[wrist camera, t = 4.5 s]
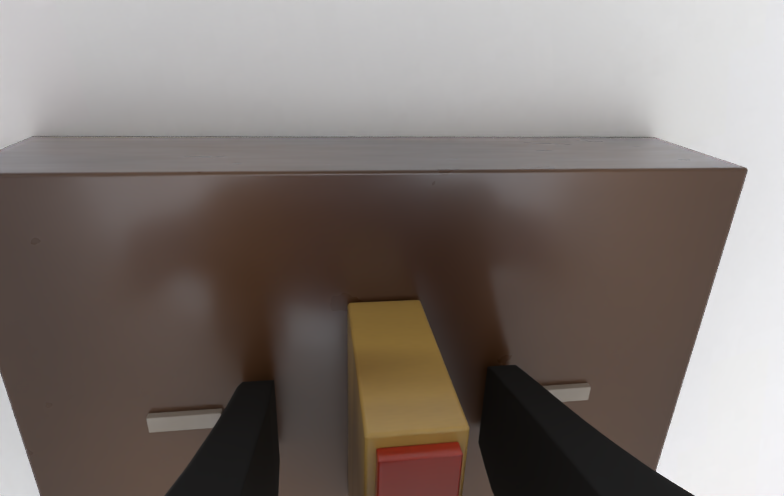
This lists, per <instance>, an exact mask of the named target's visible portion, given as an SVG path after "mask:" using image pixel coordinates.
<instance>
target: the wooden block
mask: <svg viewBox="0 0 784 496" xmlns="http://www.w3.org/2000/svg"><path fill="white" fill-rule="evenodd" d="M347 310H348V496H462V492H463V483H464V474H465V465H466V456H467V447H468V439H469V430H470V428H469V425H468V422H467V420H466V417H465V415H464V412H463V410H462V407H461V404H460V402H459V399H458V397H457V394H456V392H455V389H454V387H453V384H452V381H451V379H450V376H449V374H448V371H447V369H446V366H445V364H444V361H443V358H442V356H441V353H440V351H439V348H438V346H437V343H436V340H435V338H434V335H433V333H432V330H431V328H430V325H429V323H428V320H427V317H426V315H425V312H424V310H423V307H422V305H421V302H420V301H419V300H404V301H381V302H358V303H349V304H348V306H347Z"/></svg>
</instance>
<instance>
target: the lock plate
mask: <svg viewBox="0 0 784 496" xmlns="http://www.w3.org/2000/svg"><path fill="white" fill-rule="evenodd" d="M746 174H747V169H746V168H745V167H742V166H739V165H736V164H733V163H730V162H727V161H724V160H721V159H718V158H715V157H712V156H709V155H706V154H703V153H700V152H697V151H694V150H691V149H688V148H685V147H682V146H679V145H676V144H673V143H670V142H667V141H663V140H660V139H657V138H612V137H49V136H33V137H30V138H28V139H25V140H23V141H20V142H18V143H15V144H13V145H10V146H8V147H5V148H3V149H0V373H1V376H2V379H3V382H4V385H5V388H6V391H7V394H8V397H9V400H10V403H11V406H12V410H13V413H14V416H15V419H16V422H17V425H18V428H19V431H20V434H21V437H22V440H23V443H24V446H25V450H26V453H27V456H28V459H29V462H30V465H31V468H32V471H33V474H34V477H35V480H36V483H37V487H38V490H39V493H40V496H165V494H166V493H167V492H168V490H169V489H170V488H171V487H172V485H173V484H174V483H175V481H176V480H177V479H178V477H179V476H180V475H181V474H182V472H183V471H184V470H185V468H186V467H187V465H188V464H189V463H190V461H191V460H192V458H193V457H194V455H195V454H196V452H197V451H198V450H199V448H200V447H201V445H202V444H203V442H204V441H205V439H206V438H207V436H208V435H209V433H210V432H211V430H212V429H213V427H214V426H215V424H216V422H217V421H218V419H219V418H220V416H221V414H222V413H223V411H224V409H225V408H226V406H227V404H228V403H229V401H230V399H231V397H232V395H233V394H234V392H235V390H236V388H237V387H238V386H239V385H240V384H241V383H242V382H249V381H265V380H274V386H275V399H276V413H277V426H278V440H279V454H280V469H279V493H278V496H348V310H347V306H348V304H349V303H358V302H381V301H404V300H419V301H420V302H421V305H422V307H423V310H424V312H425V315H426V317H427V320H428V323H429V325H430V328H431V330H432V333H433V335H434V338H435V340H436V343H437V346H438V348H439V351H440V353H441V356H442V358H443V361H444V364H445V366H446V369H447V371H448V374H449V376H450V379H451V381H452V384H453V387H454V389H455V392H456V394H457V397H458V399H459V402H460V404H461V407H462V410H463V412H464V415H465V417H466V420H467V422H468V425H469V428H470V430H469V439H468V447H467V456H466V465H465V474H464V483H463V492H462V496H494V494H493V492H492V489H491V486H490V483H489V479H488V476H487V473H486V469H485V466H484V462H483V458H482V455H481V451H480V447H479V444H478V440H479V432H480V424H481V416H482V408H483V399H484V391H485V383H486V375H487V367H488V366H503V365H517V366H518V367H519V368H521V369H522V370H523V371H524V372H526V373H527V374H528V375H529V376H531V377H532V378H533V379H534V380H536V381H537V382H538V383H539V384H540V385H542V386H543V387H544V388H545V389H547V390H548V391H549V392H550V393H551V394H553V395H554V396H555V397H556V398H558V399H559V400H560V401H561V402H562V403H564V404H565V405H566V406H567V407H569V408H570V409H571V410H572V411H574V412H575V413H576V414H577V415H579V416H580V417H581V418H582V419H584V420H585V421H586V422H588V423H589V424H590V425H591V426H593V427H594V428H595V429H597V430H598V431H599V432H601V433H602V434H603V435H605V436H606V437H607V438H609V439H610V440H611V441H613V442H614V443H615V444H617V445H618V446H620V447H621V448H622V449H624V450H625V451H627V452H628V453H630V454H631V455H632V456H634V457H635V458H637V459H638V460H639V461H641V462H642V463H644V464H645V465H647V466H648V467H650V468H651V469H653V470H654V471H656V468H657V465H658V462H659V459H660V455H661V452H662V449H663V445H664V442H665V439H666V436H667V432H668V429H669V426H670V423H671V419H672V416H673V413H674V410H675V406H676V403H677V400H678V397H679V393H680V390H681V387H682V383H683V380H684V377H685V374H686V370H687V367H688V364H689V361H690V357H691V354H692V351H693V348H694V344H695V341H696V338H697V334H698V331H699V328H700V325H701V321H702V318H703V315H704V312H705V308H706V305H707V302H708V299H709V295H710V292H711V289H712V285H713V282H714V279H715V276H716V272H717V269H718V266H719V263H720V259H721V256H722V253H723V250H724V246H725V243H726V240H727V236H728V233H729V230H730V227H731V223H732V220H733V217H734V214H735V210H736V207H737V204H738V201H739V197H740V194H741V191H742V188H743V184H744V181H745V178H746Z"/></svg>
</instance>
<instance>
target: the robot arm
mask: <svg viewBox="0 0 784 496" xmlns="http://www.w3.org/2000/svg"><path fill="white" fill-rule="evenodd" d="M478 444H479V447H480V451H481V455H482V458H483V462H484V466H485V469H486V473H487V476H488V479H489V483H490V486H491V489H492V492H493V494H494V496H694V495H692V494H691V493H689V492H688V491H686V490H684V489H683V488H681V487H679V486H678V485H676V484H675V483H673V482H671V481H670V480H668V479H666V478H665V477H663V476H662V475H660V474H659V473H657V472H656V471H654V470H653V469H651V468H650V467H648V466H647V465H645V464H644V463H642V462H641V461H639V460H638V459H637V458H635V457H634V456H632V455H631V454H630V453H628V452H627V451H625V450H624V449H622V448H621V447H620V446H618V445H617V444H615V443H614V442H613V441H611V440H610V439H609V438H607V437H606V436H605V435H603V434H602V433H601V432H599V431H598V430H597V429H595V428H594V427H593V426H591V425H590V424H589V423H588V422H586V421H585V420H584V419H582V418H581V417H580V416H579V415H577V414H576V413H575V412H574V411H572V410H571V409H570V408H569V407H567V406H566V405H565V404H564V403H562V402H561V401H560V400H559V399H558V398H556V397H555V396H554V395H553V394H551V393H550V392H549V391H548V390H547V389H545V388H544V387H543V386H542V385H540V384H539V383H538V382H537V381H536V380H534V379H533V378H532V377H531V376H529V375H528V374H527V373H526V372H524V371H523V370H522V369H521V368H519V367H518V366H517V365H503V366H488V367H487V375H486V383H485V391H484V399H483V408H482V416H481V424H480V432H479V440H478ZM279 469H280V454H279V440H278V426H277V413H276V399H275V386H274V380H265V381H249V382H242V383H241V384H240V385H239V386H238V387H237V388H236V390H235V392H234V394H233V395H232V397H231V399H230V401H229V403H228V404H227V406H226V408H225V409H224V411H223V413H222V414H221V416H220V418H219V419H218V421H217V422H216V424H215V426H214V427H213V429H212V430H211V432H210V433H209V435H208V436H207V438H206V439H205V441H204V442H203V444H202V445H201V447H200V448H199V450H198V451H197V452H196V454H195V455H194V457H193V458H192V460H191V461H190V463H189V464H188V465H187V467H186V468H185V470H184V471H183V472H182V474H181V475H180V476H179V477H178V479H177V480H176V481H175V483H174V484H173V485H172V487H171V488H170V489H169V490H168V492H167V493H166V494H165V496H278V493H279Z"/></svg>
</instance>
